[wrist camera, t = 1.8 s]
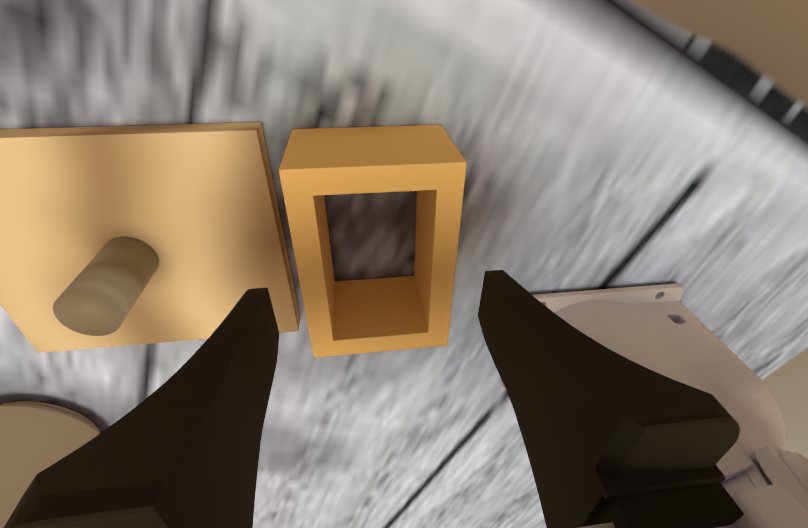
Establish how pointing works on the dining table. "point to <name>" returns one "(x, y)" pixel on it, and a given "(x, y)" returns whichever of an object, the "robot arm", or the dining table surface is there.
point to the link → (434, 244)
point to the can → (35, 445)
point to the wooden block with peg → (137, 232)
